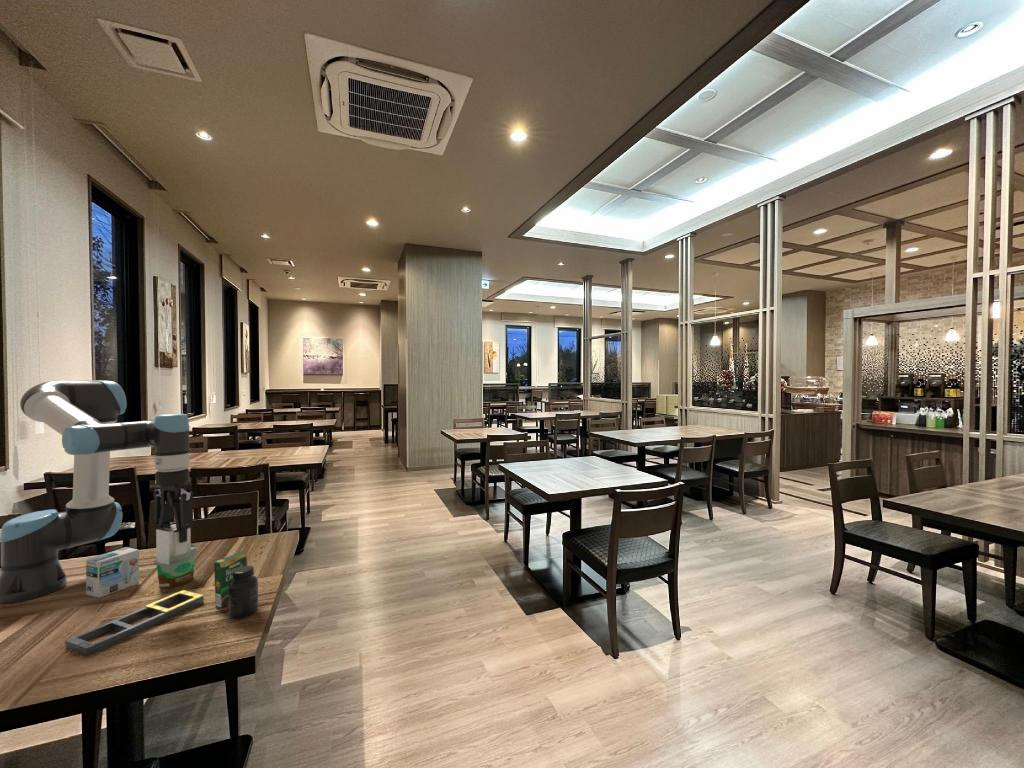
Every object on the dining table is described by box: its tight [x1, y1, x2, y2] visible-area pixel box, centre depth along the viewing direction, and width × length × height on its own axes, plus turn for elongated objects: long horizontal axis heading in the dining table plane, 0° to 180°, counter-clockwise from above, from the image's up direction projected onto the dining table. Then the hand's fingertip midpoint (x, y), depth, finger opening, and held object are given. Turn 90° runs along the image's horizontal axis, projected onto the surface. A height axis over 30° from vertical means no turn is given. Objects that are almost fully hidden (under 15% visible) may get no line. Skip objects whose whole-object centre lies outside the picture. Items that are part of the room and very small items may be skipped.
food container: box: [153, 543, 199, 590], centre depth 136 cm, size 12×6×10 cm, turn 168°
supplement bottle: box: [228, 565, 259, 620], centre depth 117 cm, size 7×7×12 cm
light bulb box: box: [85, 546, 140, 599], centre depth 132 cm, size 11×7×11 cm, turn 161°
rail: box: [64, 589, 205, 657], centre depth 113 cm, size 9×26×2 cm, turn 158°
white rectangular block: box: [155, 523, 192, 565], centre depth 120 cm, size 6×6×9 cm
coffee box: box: [213, 551, 248, 610], centre depth 123 cm, size 8×3×13 cm, turn 157°
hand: (173, 551), depth 120 cm, fingers closed on white rectangular block, 5 cm apart
